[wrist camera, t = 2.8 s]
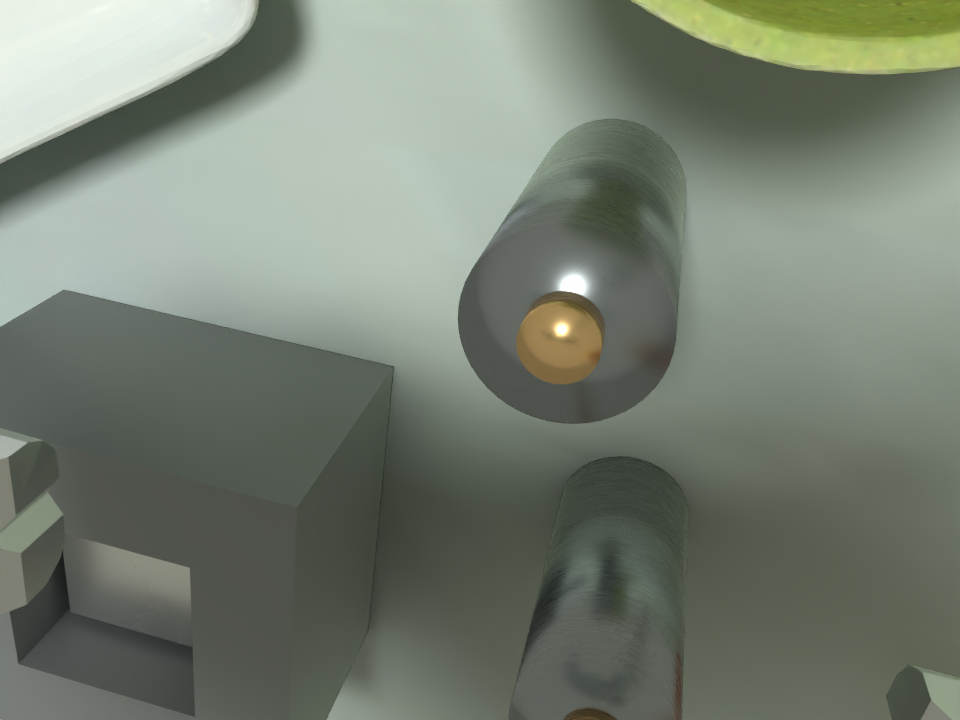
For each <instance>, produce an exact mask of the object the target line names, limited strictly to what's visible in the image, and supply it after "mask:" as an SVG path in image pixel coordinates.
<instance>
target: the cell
mask: <svg viewBox="0 0 960 720" xmlns="http://www.w3.org/2000/svg"><path fill="white" fill-rule="evenodd" d="M685 202H686V184H685V177H684V173H683V170H682V167H681V164H680V162H679V160H678V158H677V156H676V155H675V153H674V151H673V150H672V149H671V147H670V146H669V145H668V144H667V143H666V142H665V141H664V140H663V139H662V138H661V137H660V136H659V135H657V134H656V133H655V132H653V131H651V130H650V129H648V128H646V127H644V126H642V125H639V124H637V123H634V122H630V121H626V120H619V119H603V120H597V121H592V122H589V123H585V124H583V125H581V126H579V127H576V128H575V129H573V130H571V131H570V132H568V133H567V134H565V135H564V136H563V137H562V138H560V139H559V140H558V141H557V142H556V143H555V145H554V146H553V147H552V148H551V150H550V151H549V152H548V154H547V155H546V157H545V158H544V160H543V161H542V163H541V164H540V166H539V167H538V169H537V171H536V172H535V174H534V175H533V177H532V178H531V180H530V181H529V183H528V184H527V186H526V187H525V189H524V190H523V192H522V194H521V195H520V197H519V198H518V200H517V201H516V203H515V204H514V206H513V207H512V209H511V210H510V212H509V213H508V215H507V217H506V218H505V220H504V221H503V223H502V224H501V226H500V227H499V229H498V230H497V232H496V233H495V235H494V236H493V238H492V240H491V241H490V243H489V244H488V246H487V247H486V249H485V250H484V252H483V253H482V255H481V256H480V258H479V259H478V261H477V263H476V264H475V266H474V267H473V269H472V270H471V272H470V274H469V276H468V278H467V280H466V282H465V284H464V287H463V290H462V293H461V297H460V302H459V310H458V325H459V334H460V338H461V343H462V346H463V349H464V352H465V354H466V357H467V359H468V361H469V363H470V365H471V367H472V368H473V370H474V371H475V373H476V374H477V376H478V377H479V378H480V380H481V381H482V382H483V383H484V384H485V385H486V386H487V388H488V389H489V390H491V391H492V392H493V393H494V394H495V395H496V396H497V397H498V398H500V399H501V400H503V401H504V402H505V403H507V404H508V405H510V406H512V407H513V408H515V409H517V410H519V411H521V412H523V413H525V414H528V415H530V416H533V417H536V418H539V419H543V420H546V421H552V422H557V423H570V424H576V423H589V422H595V421H600V420H604V419H607V418H611V417H613V416H616V415H618V414H620V413H623V412H625V411H626V410H628V409H630V408H632V407H633V406H635V405H636V404H638V403H639V402H640V401H641V400H643V399H644V398H645V397H646V396H647V395H648V394H649V393H650V392H651V391H652V390H653V389H654V388H655V387H656V386H657V384H658V383H659V381H660V380H661V379H662V377H663V376H664V374H665V372H666V370H667V368H668V366H669V363H670V361H671V358H672V355H673V351H674V346H675V341H676V328H677V314H678V300H679V286H680V272H681V258H682V244H683V230H684V216H685Z"/></svg>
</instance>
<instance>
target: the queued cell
mask: <svg viewBox="0 0 960 720" xmlns="http://www.w3.org/2000/svg"><path fill="white" fill-rule="evenodd" d="M687 532H688V506H687V502H686V498H685V496H684V494H683V491H682V490H681V488H680V487H679V485H678V484H677V483H676V481H675V480H674V479H673V478H672V477H671V476H670V475H669V474H667V473H666V472H665V471H663V470H662V469H660V468H659V467H657V466H655V465H653V464H651V463H648V462H646V461H643V460H640V459H635V458H630V457H609V458H603V459H599V460H596V461H593V462H591V463H589V464H587V465H585V466H583V467H582V468H581V469H579V470H578V471H577V472H576V473H575V474H574V475H573V476H572V477H571V478H570V480H569V481H568V482H567V484H566V486H565V488H564V492H563V495H562V499H561V503H560V507H559V511H558V515H557V519H556V523H555V527H554V531H553V536H552V540H551V544H550V548H549V552H548V556H547V560H546V564H545V568H544V572H543V576H542V580H541V584H540V588H539V592H538V596H537V600H536V604H535V608H534V612H533V616H532V621H531V625H530V629H529V633H528V637H527V641H526V645H525V649H524V653H523V657H522V661H521V665H520V669H519V673H518V677H517V681H516V685H515V689H514V693H513V697H512V702H511V706H510V711H509V720H682V692H683V660H684V628H685V596H686V564H687Z"/></svg>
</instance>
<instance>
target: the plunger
mask: <svg viewBox="0 0 960 720" xmlns="http://www.w3.org/2000/svg"><path fill="white" fill-rule="evenodd" d="M62 549H63V557H64V565H65V573H66V581H67V589H68V597H69V605H70V612H72V613H75V614H79V615H82V616H85V617H89V618H92V619H96V620H99V621H103V622H106V623H110V624H113V625H117V626H120V627H124V628H127V629H131V630H134V631H138V632H141V633H145V634H148V635H151V636H155V637H158V638H162V639H165V640H169V641H172V642H176V643H179V644H183V645H186V646H190V647H193V645H192V617H191V588H190V568H189V567H185V566H181V565H178V564H174V563H170V562H167V561H163V560H159V559H156V558H152V557H148V556H145V555H141V554H138V553H134V552H130V551H127V550H123V549H119V548H116V547H112V546H108V545H105V544H101V543H97V542H94V541H90V540H87V539H83V538H79V537H76V536H72V535H68V534H65V537H64V543H63V548H62Z"/></svg>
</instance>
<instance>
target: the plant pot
mask: <svg viewBox="0 0 960 720" xmlns="http://www.w3.org/2000/svg"><path fill="white" fill-rule="evenodd" d="M630 1H632V2H633V3H635V4H637V5H639V6H640V7H642V8H643V9H644V10H646V11H647V12H649V13H650V14H652V15H654V16H655V17H657V18H659V19H661V20H663V21H664V22H666V23H668V24H670V25H672V26H674V27H676V28H677V29H679V30H681V31H683V32H685V33H687V34H689V35H691V36H693V37H695V38H697V39H700V40H702V41H704V42H706V43H708V44H711V45H713V46H716V47H719V48H723V49H727V50H729V51H732V52H734V53H736V54H739V55H743V56H746V57H749V58H753V59H756V60H761V61H766V62H770V63H775V64H778V65H782V66H787V67H792V68H797V69H803V70H812V71H822V72H832V73H850V74H901V73H915V72H928V71H936V70H944V69H951V68H956V67H960V0H630Z"/></svg>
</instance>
